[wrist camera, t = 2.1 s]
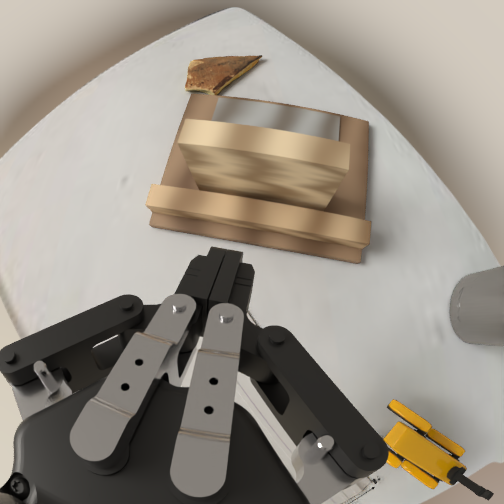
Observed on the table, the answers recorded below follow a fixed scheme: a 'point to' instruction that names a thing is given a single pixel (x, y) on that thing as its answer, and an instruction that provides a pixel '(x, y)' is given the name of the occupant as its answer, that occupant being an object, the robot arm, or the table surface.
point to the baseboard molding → (273, 427)
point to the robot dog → (426, 452)
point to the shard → (217, 72)
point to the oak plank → (264, 163)
